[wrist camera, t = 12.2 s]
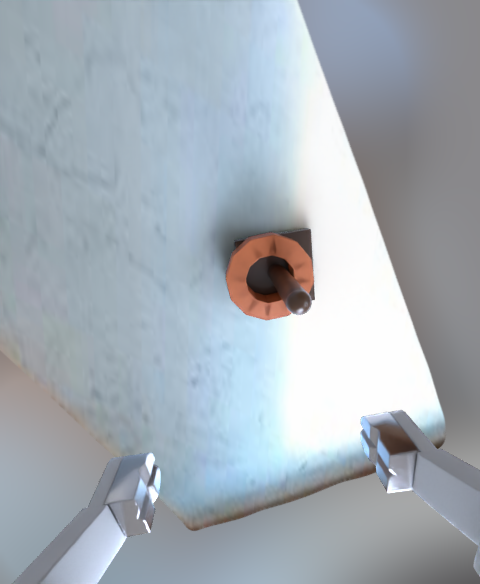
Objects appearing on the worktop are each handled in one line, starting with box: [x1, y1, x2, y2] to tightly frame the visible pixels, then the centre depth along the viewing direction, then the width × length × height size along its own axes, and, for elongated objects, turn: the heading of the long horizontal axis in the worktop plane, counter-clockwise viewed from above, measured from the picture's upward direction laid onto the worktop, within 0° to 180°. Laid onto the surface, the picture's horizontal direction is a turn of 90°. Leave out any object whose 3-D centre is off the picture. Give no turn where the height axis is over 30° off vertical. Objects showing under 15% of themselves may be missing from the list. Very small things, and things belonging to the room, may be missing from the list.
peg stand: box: [234, 228, 315, 315], centre depth 29 cm, size 10×10×14 cm
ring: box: [226, 232, 314, 320], centre depth 32 cm, size 11×11×3 cm
